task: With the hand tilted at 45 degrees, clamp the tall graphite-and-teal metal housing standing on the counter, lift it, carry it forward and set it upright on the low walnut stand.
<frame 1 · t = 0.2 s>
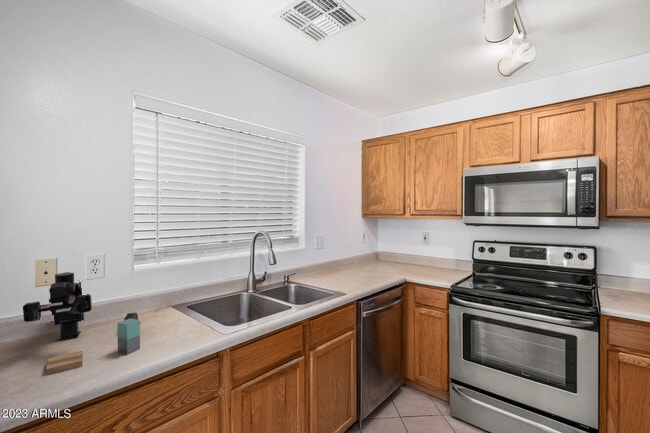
hand: (53, 315, 104), 17 cm above the worktop, tool horizontal, fingers open, 9 cm apart
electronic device: (131, 330, 134), on the worktop
housing: (129, 350, 114), on the worktop
stand: (65, 365, 103), on the worktop
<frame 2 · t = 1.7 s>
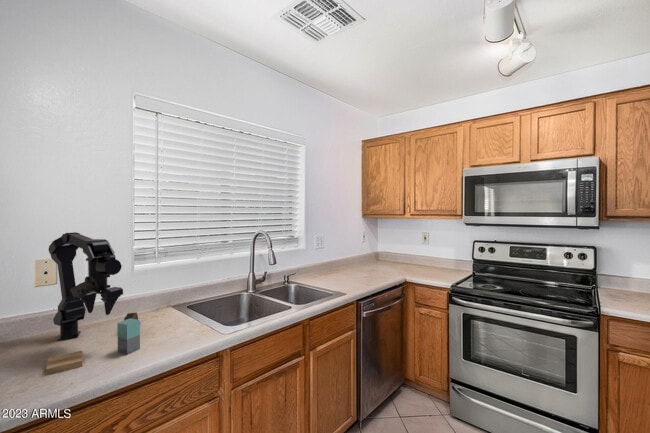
hand: (98, 313, 116), 13 cm above the worktop, tool pointing down, fingers open, 9 cm apart
nothing on the worktop moved.
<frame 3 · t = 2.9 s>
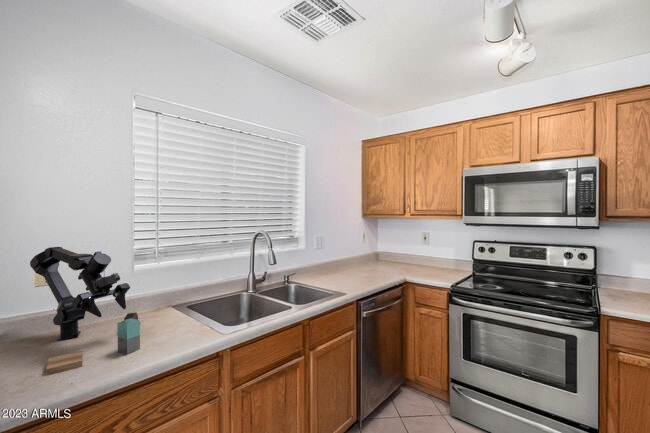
hand: (113, 312, 116), 13 cm above the worktop, tool tilted 45°, fingers open, 9 cm apart
nothing on the worktop moved.
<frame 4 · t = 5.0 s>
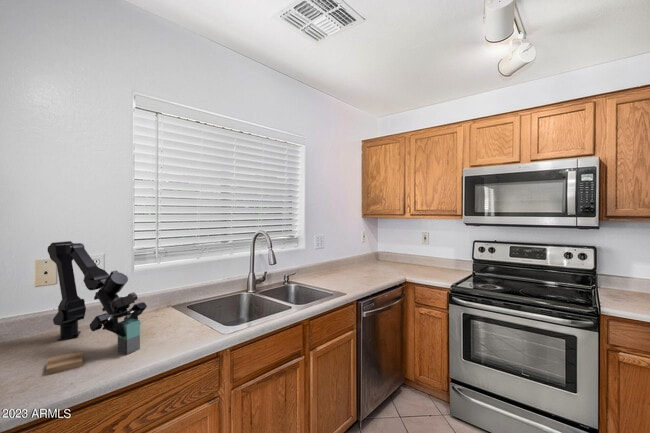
hand: (131, 333, 113), 7 cm above the worktop, tool tilted 45°, fingers closed on housing, 5 cm apart
housing: (129, 350, 114), on the worktop, touching gripper
everything else where it was.
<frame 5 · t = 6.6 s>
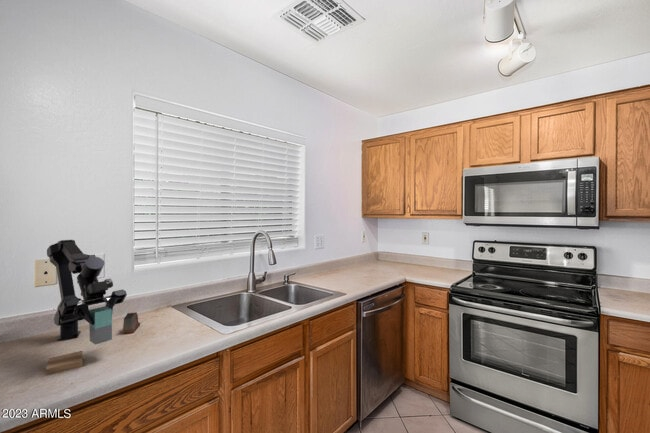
hand: (102, 322, 107), 13 cm above the worktop, tool tilted 45°, fingers closed on housing, 5 cm apart
housing: (100, 340, 108), point 6 cm above the worktop, touching gripper
everything else where it was.
when the fingers open (9 cm above the worktop, at t = 8.3 s): housing stays where it is, resting on stand.
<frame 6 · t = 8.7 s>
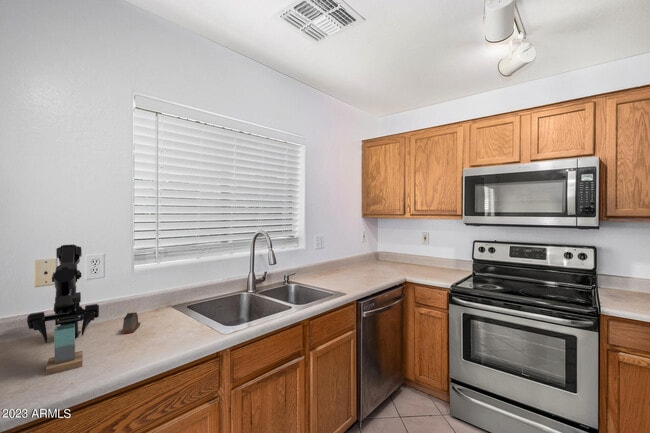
hand: (64, 338, 102), 10 cm above the worktop, tool tilted 45°, fingers open, 9 cm apart
housing: (65, 359, 103), point 2 cm above the worktop, touching stand
everything else where it was.
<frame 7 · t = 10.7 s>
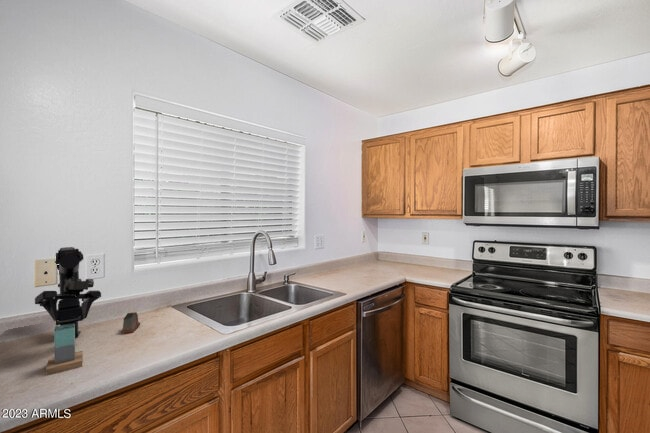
hand: (70, 319, 111), 13 cm above the worktop, tool tilted 30°, fingers open, 9 cm apart
nothing on the worktop moved.
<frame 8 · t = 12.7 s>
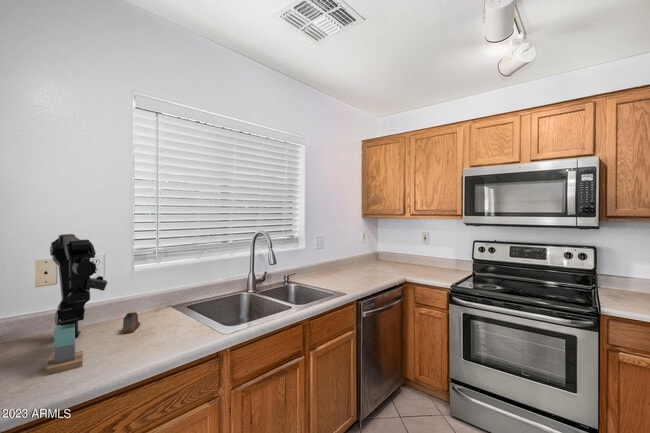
hand: (79, 314, 115), 13 cm above the worktop, tool pointing down, fingers open, 9 cm apart
nothing on the worktop moved.
at the end: housing inside the target area on the stand (0.0 cm from its centre), point 2.0 cm above the stand's base; housing tilted 0°; the gripper is holding nothing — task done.
